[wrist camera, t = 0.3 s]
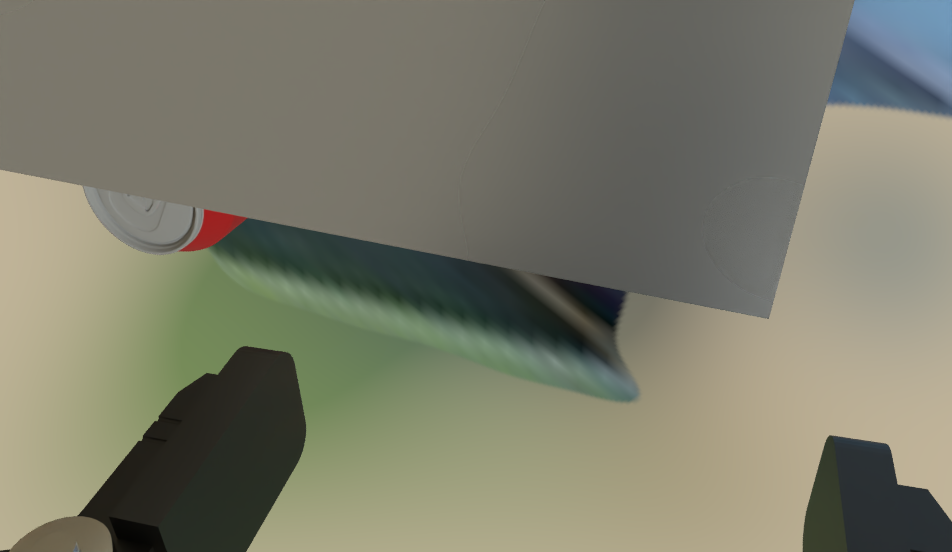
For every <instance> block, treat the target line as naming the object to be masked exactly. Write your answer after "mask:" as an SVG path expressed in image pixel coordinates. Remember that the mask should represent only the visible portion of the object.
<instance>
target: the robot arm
mask: <svg viewBox="0 0 952 552" xmlns="http://www.w3.org/2000/svg"><path fill="white" fill-rule="evenodd" d="M305 437H306V422H305V416H304V412H303V405H302V400H301V395H300V389H299V384H298V379H297V374H296V369H295V363H294V360H293V357H292V356H291V355H290V354H289V353H286V352H281V351H273V350H267V349H261V348H254V347H247V346H244V347H241V348H239V349H238V350H237V351H236V352H235V353H234V355H233V356H232V357H231V358H230V360H229V361H228V362H227V364H226V365H225V366H224V368H223V369H222V370H221V371H220V373H219V374H218V375H216V374H209V373H206V374H205V375H203V376H202V377H200V378H199V379H197V380H196V381H194V382H193V383H191V384H190V385H188V386H187V387H185V388H184V389H183V390H181V391H180V392H178V393H177V394H176V396H175V397H174V398H173V399H172V400H171V402H170V403H169V404H168V405H167V407H166V408H165V409H164V410H163V412H162V413H161V414H160V415H159V419H158V421H155V422H154V423H153V424H152V425H151V427H150V428H149V429H148V430H147V431H146V433H145V434H144V435H143V439H142V441H138V442H137V444H136V445H135V446H134V447H133V449H132V450H131V451H130V452H129V454H128V455H127V456H126V457H125V459H124V460H123V461H122V462H121V463H120V465H119V466H118V467H117V468H116V470H115V471H114V472H113V473H112V475H111V476H110V477H109V478H108V479H107V481H106V482H105V483H104V484H103V486H102V487H101V488H100V489H99V491H98V492H97V493H96V494H95V496H94V497H93V498H92V499H91V500H90V502H89V503H88V504H87V506H86V507H85V508H84V509H83V510H82V511H81V513H80V514H79V515H78V516H74V517H66V518H61V519H57V520H54V521H51V522H48V523H46V524H44V525H42V526H40V527H38V528H36V529H34V530H33V531H31V532H30V533H28V534H27V535H25V536H24V537H23V538H22V539H20V540H19V541H18V542H17V543H16V544H15V545H14V546H13V547H12V549H11V550H3V551H0V552H246V551H247V549H248V548H249V546H250V544H251V543H252V541H253V539H254V537H255V536H256V534H257V532H258V530H259V529H260V527H261V525H262V523H263V522H264V520H265V518H266V517H267V515H268V513H269V511H270V510H271V508H272V506H273V505H274V503H275V501H276V499H277V498H278V496H279V494H280V492H281V491H282V489H283V487H284V486H285V484H286V482H287V480H288V479H289V477H290V475H291V473H292V472H293V470H294V468H295V467H296V465H297V463H298V461H299V459H300V457H301V454H302V451H303V447H304V443H305ZM803 552H952V522H951V520H950V519H949V518H948V516H947V515H946V513H945V512H944V511H943V510H942V508H941V507H940V505H939V504H938V503H937V501H936V500H935V499H934V497H933V496H932V495H931V494H930V492H929V491H928V490H927V489H922V488H915V487H909V486H903V485H898V484H897V479H896V474H895V469H894V464H893V458H892V454H891V450H890V447H889V446H888V445H887V444H884V443H878V442H871V441H864V440H858V439H851V438H845V437H838V436H829V437H828V438H827V440H826V442H825V446H824V449H823V453H822V456H821V460H820V464H819V467H818V471H817V474H816V478H815V482H814V485H813V489H812V492H811V496H810V500H809V503H808V507H807V511H806V516H805V523H804V533H803Z"/></svg>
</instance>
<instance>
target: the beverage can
mask: <svg viewBox="0 0 952 552" xmlns="http://www.w3.org/2000/svg"><path fill="white" fill-rule="evenodd" d="M83 189H84V192H85V196H86V198H87V200H88V202H89V205H90V207H91V208H92V210H93V212H94V213H95V215H96V216H97V218H98V219H99V220H100V222H101V223H102V224H103V225H104V226H105V227H106V228H107V229H108V230H109V231H110V232H111V233H112V234H113V235H114V236H115V237H117V238H118V239H119V240H120V241H122V242H123V243H125V244H127V245H128V246H130V247H132V248H135V249H137V250H139V251H142V252H145V253H149V254H157V255H164V254H171V253H174V252H177V251H196V250H201V249H205V248H208V247H210V246H212V245H214V244H215V243H217V242H218V241H220V240H221V239H222V238H223V237H224V236H226V235H227V234H228V233H229V232H231V231H232V230H233V229H234V228H236V227H237V226H238V225H239V224H241V223H242V222H243V221H244V220H245V219H247V217H242V216H237V215H232V214H226V213H221V212H216V211H211V210H206V209H201V208H196V207H190V206H185V205H180V204H175V203H170V202H165V201H160V200H154V199H149V198H144V197H139V196H134V195H129V194H124V193H118V192H113V191H108V190H103V189H98V188H93V187H87V186H83Z"/></svg>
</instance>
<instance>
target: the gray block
mask: <svg viewBox="0 0 952 552" xmlns="http://www.w3.org/2000/svg"><path fill="white" fill-rule="evenodd" d="M853 4H854V0H0V170H5V171H10V172H16V173H21V174H26V175H31V176H36V177H42V178H47V179H51V180H57V181H62V182H67V183H72V184H77V185H82V186H87V187H93V188H98V189H103V190H108V191H113V192H118V193H124V194H129V195H134V196H139V197H144V198H149V199H154V200H160V201H165V202H170V203H175V204H180V205H185V206H190V207H196V208H201V209H206V210H211V211H216V212H221V213H226V214H232V215H237V216H242V217H247V218H252V219H257V220H262V221H268V222H273V223H278V224H283V225H288V226H293V227H299V228H304V229H309V230H314V231H319V232H324V233H329V234H335V235H340V236H345V237H350V238H355V239H360V240H365V241H371V242H376V243H381V244H386V245H391V246H396V247H401V248H407V249H412V250H417V251H422V252H427V253H432V254H437V255H443V256H448V257H453V258H458V259H463V260H468V261H474V262H479V263H484V264H489V265H494V266H499V267H504V268H510V269H515V270H520V271H525V272H530V273H535V274H540V275H546V276H551V277H556V278H561V279H566V280H571V281H576V282H582V283H587V284H592V285H597V286H602V287H607V288H612V289H618V290H623V291H628V292H634V293H638V294H643V295H649V296H654V297H659V298H664V299H669V300H674V301H679V302H685V303H690V304H695V305H700V306H705V307H710V308H716V309H721V310H726V311H731V312H736V313H741V314H746V315H752V316H757V317H762V318H767V319H769V315H770V312H771V308H772V305H773V301H774V297H775V293H776V289H777V286H778V282H779V279H780V275H781V271H782V267H783V264H784V260H785V256H786V253H787V249H788V245H789V241H790V238H791V234H792V230H793V226H794V223H795V219H796V215H797V212H798V208H799V204H800V201H801V197H802V193H803V190H804V185H805V182H806V178H807V174H808V171H809V167H810V164H811V160H812V156H813V152H814V149H815V145H816V141H817V138H818V134H819V130H820V126H821V123H822V119H823V115H824V112H825V108H826V104H827V101H828V97H829V93H830V89H831V86H832V82H833V78H834V75H835V71H836V67H837V63H838V60H839V56H840V52H841V49H842V45H843V41H844V37H845V34H846V30H847V26H848V23H849V19H850V15H851V12H852V8H853Z"/></svg>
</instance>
